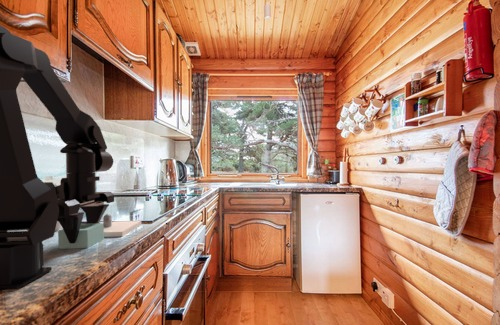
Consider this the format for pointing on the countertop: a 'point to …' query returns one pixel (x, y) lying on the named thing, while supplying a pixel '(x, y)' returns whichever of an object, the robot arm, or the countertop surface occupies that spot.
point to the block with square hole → (83, 236)
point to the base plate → (118, 226)
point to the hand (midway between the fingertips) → (82, 238)
